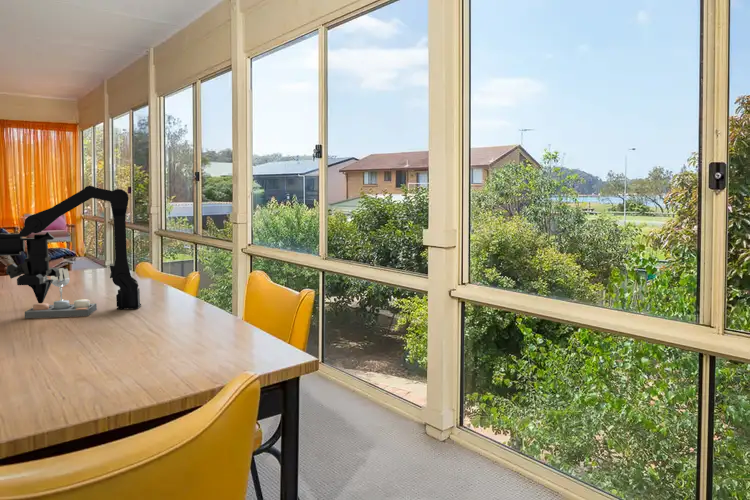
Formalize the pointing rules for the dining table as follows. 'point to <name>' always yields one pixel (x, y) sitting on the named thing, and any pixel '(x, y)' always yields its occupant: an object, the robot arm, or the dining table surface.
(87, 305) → the cream button
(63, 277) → the wineglass
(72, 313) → the button panel
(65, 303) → the slate button
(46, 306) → the terracotta button
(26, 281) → the robot arm
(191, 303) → the dining table surface
